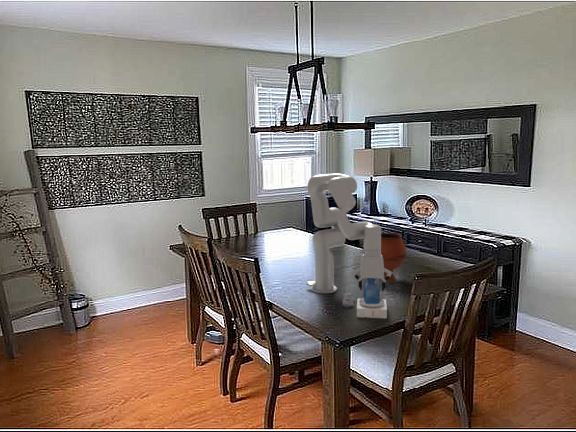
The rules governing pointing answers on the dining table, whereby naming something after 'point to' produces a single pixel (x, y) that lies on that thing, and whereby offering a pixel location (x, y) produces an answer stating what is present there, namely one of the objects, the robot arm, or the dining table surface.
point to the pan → (371, 304)
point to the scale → (371, 310)
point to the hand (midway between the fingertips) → (371, 289)
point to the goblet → (392, 252)
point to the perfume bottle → (371, 292)
